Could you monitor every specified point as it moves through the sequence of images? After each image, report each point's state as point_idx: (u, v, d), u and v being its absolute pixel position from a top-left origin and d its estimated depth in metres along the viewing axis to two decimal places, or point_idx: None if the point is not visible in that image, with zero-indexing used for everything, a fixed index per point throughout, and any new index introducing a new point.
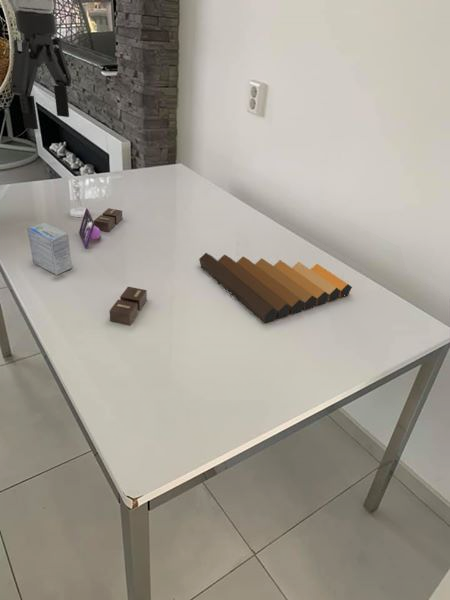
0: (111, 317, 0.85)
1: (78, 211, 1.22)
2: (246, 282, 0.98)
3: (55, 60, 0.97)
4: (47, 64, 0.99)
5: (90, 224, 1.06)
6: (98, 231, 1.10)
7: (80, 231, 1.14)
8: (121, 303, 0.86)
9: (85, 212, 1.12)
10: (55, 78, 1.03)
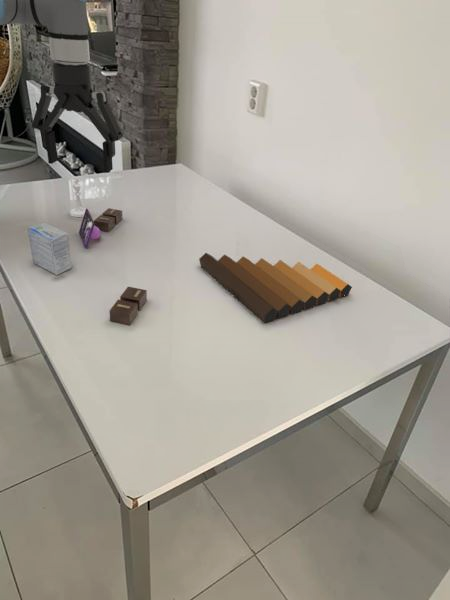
0: (111, 317, 0.85)
1: (78, 211, 1.22)
2: (246, 282, 0.98)
3: None
4: (59, 112, 0.97)
5: (90, 224, 1.06)
6: (98, 231, 1.10)
7: (80, 231, 1.14)
8: (121, 303, 0.86)
9: (85, 212, 1.12)
10: (50, 125, 0.99)
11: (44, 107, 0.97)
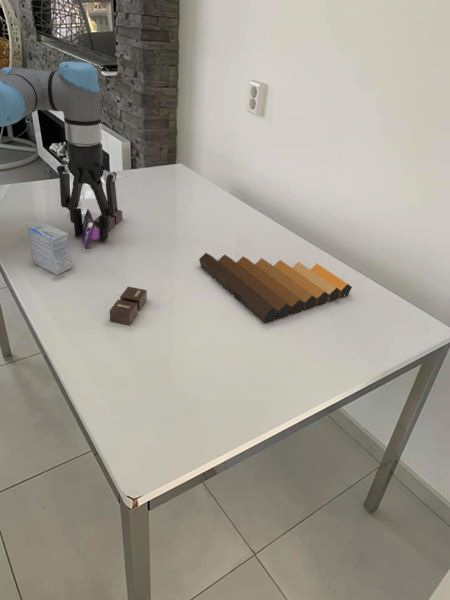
0: (111, 317, 0.85)
1: None
2: (246, 282, 0.98)
3: None
4: (78, 187, 1.05)
5: (90, 224, 1.06)
6: (99, 232, 1.09)
7: None
8: (121, 303, 0.86)
9: (86, 212, 1.12)
10: (75, 202, 1.07)
11: (65, 185, 1.05)
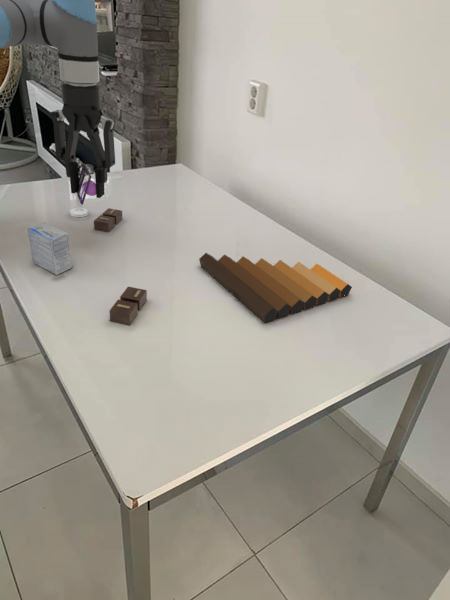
0: (111, 317, 0.85)
1: (78, 211, 1.22)
2: (246, 282, 0.98)
3: None
4: (74, 136, 0.96)
5: (86, 177, 0.97)
6: None
7: None
8: (121, 303, 0.86)
9: (82, 167, 1.04)
10: (71, 153, 0.98)
11: (60, 134, 0.96)
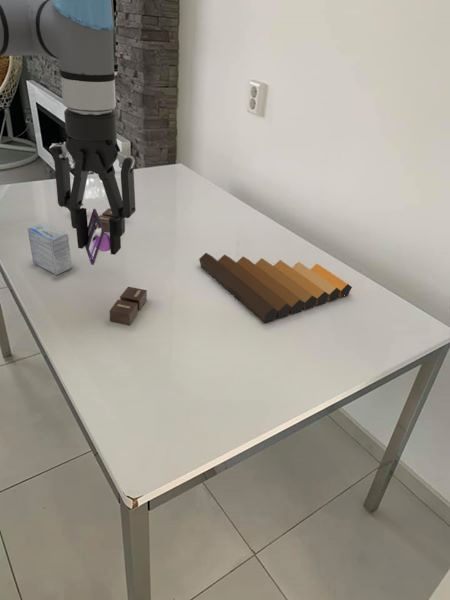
0: (111, 317, 0.85)
1: None
2: (246, 282, 0.98)
3: None
4: (82, 177, 0.73)
5: (98, 231, 0.74)
6: None
7: None
8: (121, 303, 0.86)
9: (92, 214, 0.80)
10: (78, 199, 0.75)
11: (64, 175, 0.73)
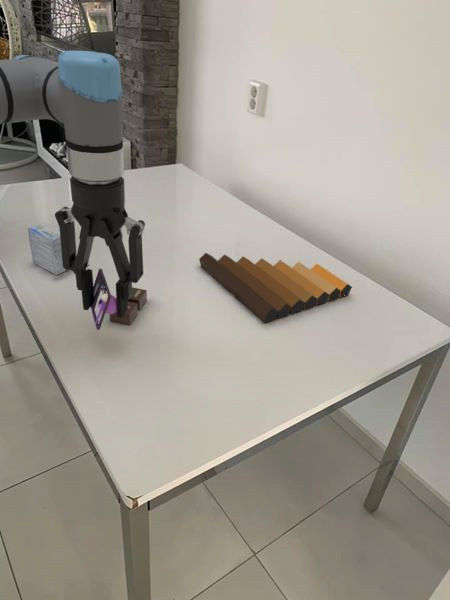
0: (111, 317, 0.85)
1: None
2: (246, 282, 0.98)
3: None
4: (88, 242, 0.70)
5: (105, 297, 0.71)
6: (116, 303, 0.75)
7: None
8: None
9: (98, 273, 0.77)
10: (84, 262, 0.72)
11: (69, 238, 0.70)
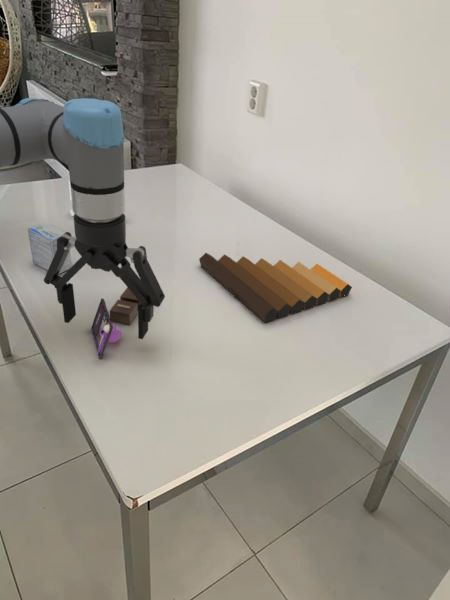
0: (111, 317, 0.85)
1: None
2: (246, 282, 0.98)
3: None
4: None
5: (107, 328, 0.74)
6: (118, 333, 0.78)
7: (93, 327, 0.82)
8: (121, 303, 0.86)
9: (100, 303, 0.81)
10: (67, 281, 0.75)
11: (61, 261, 0.73)
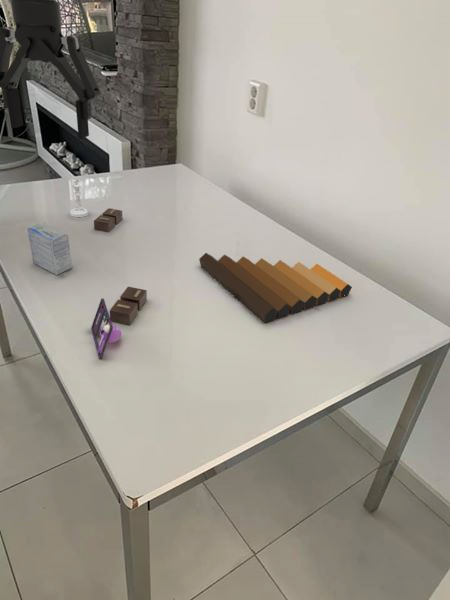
0: (111, 317, 0.85)
1: (78, 211, 1.22)
2: (246, 282, 0.98)
3: None
4: (22, 63, 0.79)
5: (107, 328, 0.74)
6: (118, 333, 0.78)
7: (93, 327, 0.82)
8: (121, 303, 0.86)
9: (100, 303, 0.81)
10: (11, 80, 0.81)
11: (4, 56, 0.79)
